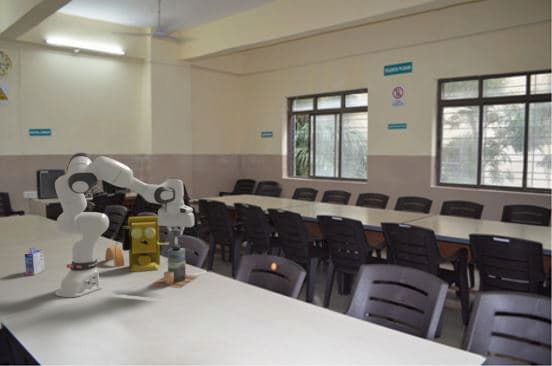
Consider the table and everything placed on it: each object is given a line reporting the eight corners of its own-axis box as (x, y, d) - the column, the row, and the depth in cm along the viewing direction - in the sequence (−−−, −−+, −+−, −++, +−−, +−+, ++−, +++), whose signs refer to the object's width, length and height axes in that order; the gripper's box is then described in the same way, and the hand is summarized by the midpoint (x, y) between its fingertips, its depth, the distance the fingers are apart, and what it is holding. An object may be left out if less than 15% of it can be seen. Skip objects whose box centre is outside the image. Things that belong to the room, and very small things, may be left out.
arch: (114, 267, 271) (114, 251, 271) (105, 260, 288) (104, 245, 287) (124, 265, 275) (123, 249, 274) (114, 259, 291) (114, 243, 290)
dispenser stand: (180, 291, 227) (179, 252, 225) (148, 287, 232) (147, 250, 230) (199, 278, 248) (199, 243, 246) (170, 275, 253) (169, 241, 251)
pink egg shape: (170, 285, 231) (170, 274, 230) (162, 285, 232) (161, 273, 231) (175, 282, 235) (175, 271, 235) (167, 282, 237) (166, 270, 236)
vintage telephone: (113, 273, 258) (111, 221, 256) (115, 267, 272) (113, 217, 269) (169, 269, 267) (168, 219, 264) (168, 263, 280) (167, 215, 277)
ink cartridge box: (36, 270, 265) (35, 245, 264) (45, 270, 265) (43, 246, 263) (25, 275, 255) (23, 249, 254) (34, 275, 255) (33, 250, 254)
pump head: (172, 248, 232) (171, 233, 231) (165, 248, 233) (164, 232, 232) (181, 244, 242) (181, 229, 241) (174, 243, 243) (174, 229, 242)
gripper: (154, 208, 238) (155, 234, 240) (190, 210, 233) (190, 236, 234) (161, 207, 244) (161, 232, 246) (195, 208, 239) (196, 234, 240)
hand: (176, 234), depth 240 cm, fingers closed on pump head, 4 cm apart
